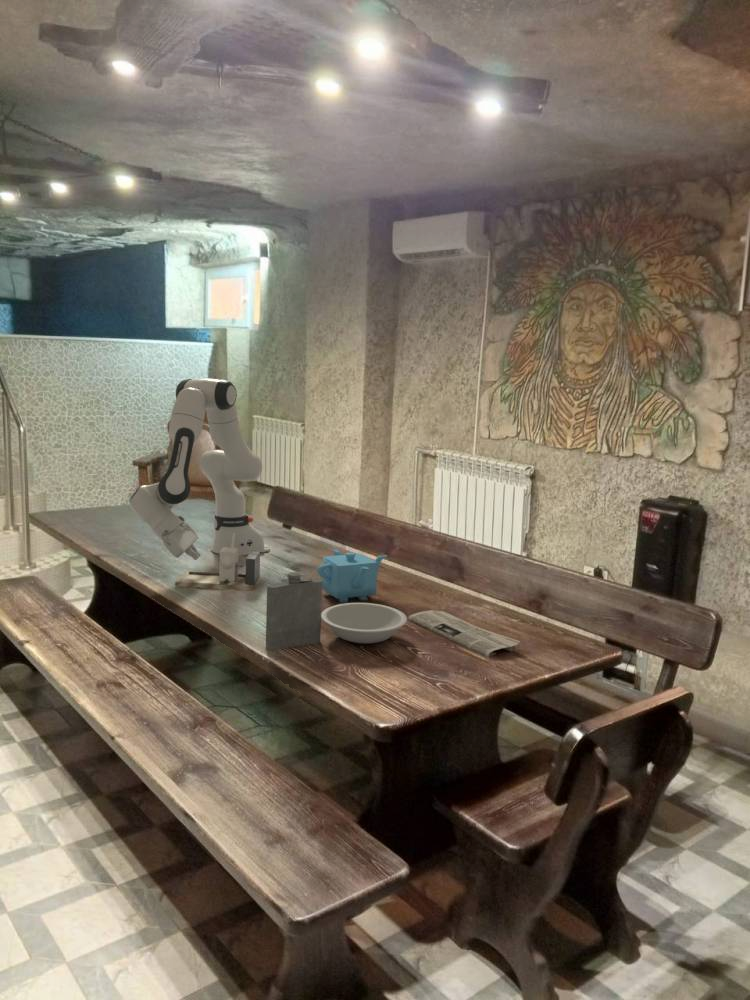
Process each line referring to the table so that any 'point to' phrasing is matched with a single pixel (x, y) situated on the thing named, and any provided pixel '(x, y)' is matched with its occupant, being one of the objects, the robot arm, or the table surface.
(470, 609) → the table surface
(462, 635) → the newspaper
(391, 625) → the soup bowl
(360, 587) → the teakettle
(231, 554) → the block
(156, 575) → the table surface
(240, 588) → the board
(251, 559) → the dark grey slab
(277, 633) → the hip flask
